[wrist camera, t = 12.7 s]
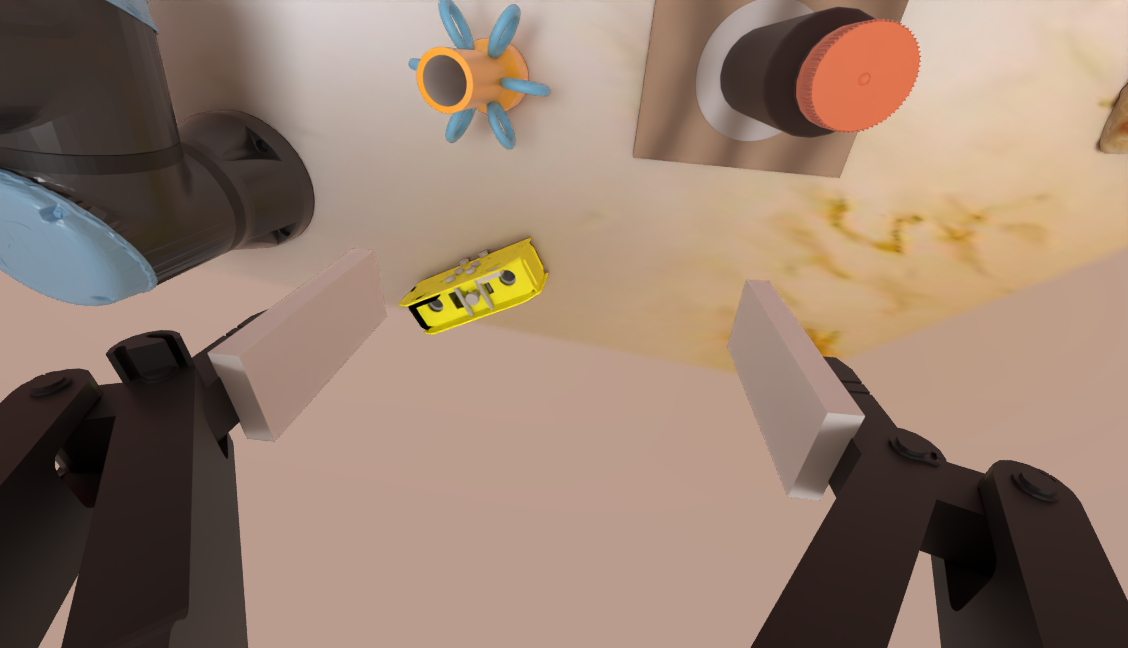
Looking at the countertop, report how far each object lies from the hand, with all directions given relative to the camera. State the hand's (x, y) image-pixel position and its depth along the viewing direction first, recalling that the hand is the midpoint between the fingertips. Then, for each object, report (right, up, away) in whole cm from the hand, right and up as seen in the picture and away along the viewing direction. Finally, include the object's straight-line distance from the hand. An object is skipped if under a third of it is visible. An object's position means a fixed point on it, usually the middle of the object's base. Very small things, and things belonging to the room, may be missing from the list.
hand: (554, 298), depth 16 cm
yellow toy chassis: (-10, +5, +39) cm, 40 cm away
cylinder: (-6, +24, +27) cm, 37 cm away
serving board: (+18, +22, +24) cm, 38 cm away
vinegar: (+18, +21, +23) cm, 36 cm away
